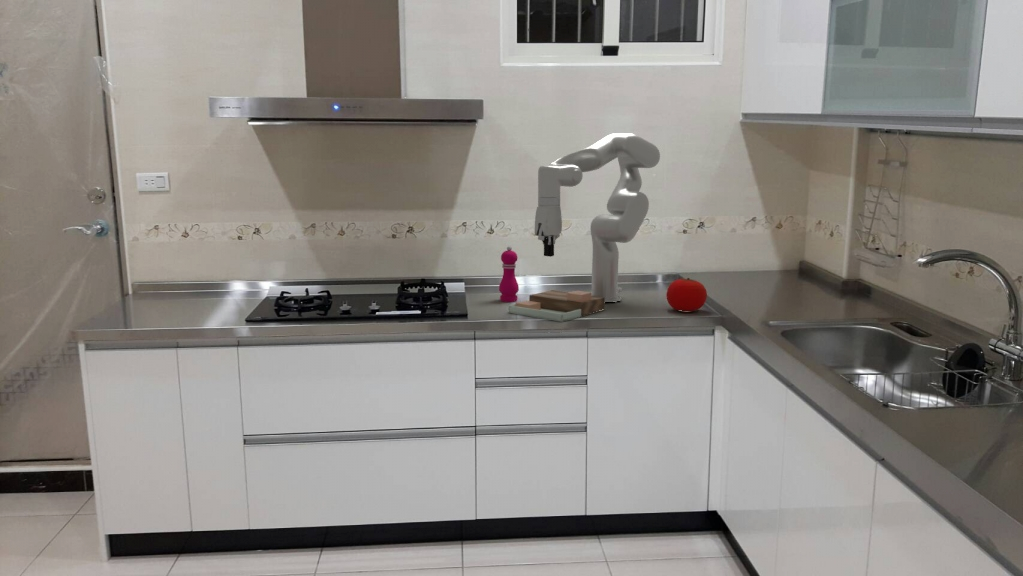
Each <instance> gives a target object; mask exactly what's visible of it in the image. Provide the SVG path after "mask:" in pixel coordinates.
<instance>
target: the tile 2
mask: <svg viewBox="0 0 1023 576" xmlns="http://www.w3.org/2000/svg"><path fill="white" fill-rule="evenodd" d="M567 292H568V293H567V300H569V301H576V302H585V301H589V300H591V292H589V291H582V290H573V291H567Z"/></svg>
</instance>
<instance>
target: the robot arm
mask: <svg viewBox="0 0 1023 576" xmlns="http://www.w3.org/2000/svg"><path fill="white" fill-rule="evenodd" d="M615 159H617V161H618V166H619V171H620V176H619V179H618V181H617V184H615V185H616V186H615V187H614V189H613V191H612V192H611V194H610V196H609V198H608V200H607V204H606V210H607V212H608V213H609V214H604V213H603V214H598V215H596V216H595V217H594V218H593V219H592V221H591V223H590V235H591V242H592V257H591V258H592V260H591V261H592V263H591V264H592V265H591V292H590V293H591V296H598V297H605V302H613V301H619V300H621V301H622V297H621V296H620V295H618V294H619V293H622V292H623V288H622V287H620V286H618V283H619V282H618V280H619V259H620V257H619V254H620V252H619V248H618V245H617V243H622V244H627V243H629V242H631V241H632V240H633V239H634V238H635V236H636V235H637V233H638V232H639V230H640V228H641V225H642V224H643V222H644V220H645V218H646V216H647V214H648V211H649V207H650V202H649V198H648V196H647V195H646V194H645V193H644V192H642V191H640V190H641V188H642V184H643V181H642V177H641V174H640V171H639V169H651V168H654V167H656V166H657V165H658V164H659V162H660V159H661V153H660V150H659V148H658V147H657V146H656V145H655V144H653V143H652V142H650V141H648V140H646V139H644V138H642V137H640V136H639V135H637V134H634V133H627V132H626V133H625V132H623V133H622V132H620V133H619V132H618V133H610V134H607V135H606V136H604V137H603V138H601V139H599V140H598V141H596V142H594V143H593V144H590V145H589V146H587V147H585V148H582V149H580V150H576V151H574V152H571V153H569V154H566V155H563V156H561V157H559V158H558V159H556V160H554V161H553V162H551V163H550V164H549V165H541V166H539V167H538V172H537V206H536V209H535V215H534V217H535V218H534V235H535V236H537V239H538V241H541V242H542V245H543V257H554V256H555V244H556V240H557V239H558V238H560V234H561V233H562V229H563V221H562V220H563V219H562V218H563V216H562V210H561V209H562V208H561V187H564V188H565V187H569V188H572V187H573V188H574V187H576V186H578V185H579V184H580V183H581V182H582V180H583V173H586V172H587V173H588V172H592V171H597V170H599V169H601V168H602V167H604V166H606V165H607V164H609V163H610V162H612V161H614V160H615Z"/></svg>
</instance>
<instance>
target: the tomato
mask: <svg viewBox="0 0 1023 576" xmlns="http://www.w3.org/2000/svg"><path fill="white" fill-rule="evenodd" d="M666 290H667V291H666V296H665V297H666V301H667V303H668V304H669V307H671V308H672V309H674V310H675V309H676V310H675V311H677V310H682V311H693V312H695V311H694V310H696V311H698V310H699V309H701V308H702V307H703V306H704V305H705V303H706V301H707V297H708V292H707V290H706V287H705V286H704V284H703V283H702V282H700V280H696V279H691V278H690V277H687V278H679V279H676V280H673V281H672V282H671V283H670V284H669V285H668V287H667V289H666Z"/></svg>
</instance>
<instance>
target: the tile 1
mask: <svg viewBox="0 0 1023 576" xmlns="http://www.w3.org/2000/svg"><path fill="white" fill-rule="evenodd" d="M515 304H516V306H517V307H524V308H530V309H536V310H540V305H541V303H539V302H533V301H529V300H524V301H520V302H519V301H518V302H515Z"/></svg>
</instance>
